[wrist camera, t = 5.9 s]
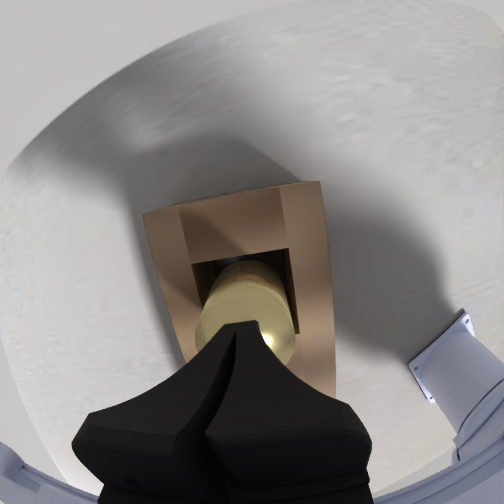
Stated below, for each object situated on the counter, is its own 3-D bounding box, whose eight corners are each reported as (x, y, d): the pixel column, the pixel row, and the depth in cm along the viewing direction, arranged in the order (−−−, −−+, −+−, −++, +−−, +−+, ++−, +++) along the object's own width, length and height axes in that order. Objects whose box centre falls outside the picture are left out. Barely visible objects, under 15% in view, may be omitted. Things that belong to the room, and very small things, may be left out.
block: (323, 416, 23) (333, 453, 18) (235, 427, 23) (232, 465, 18) (302, 181, 17) (319, 181, 13) (171, 205, 18) (142, 214, 13)
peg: (288, 319, 15) (299, 373, 11) (221, 329, 16) (208, 384, 11) (278, 253, 15) (289, 289, 10) (205, 265, 15) (182, 305, 10)
